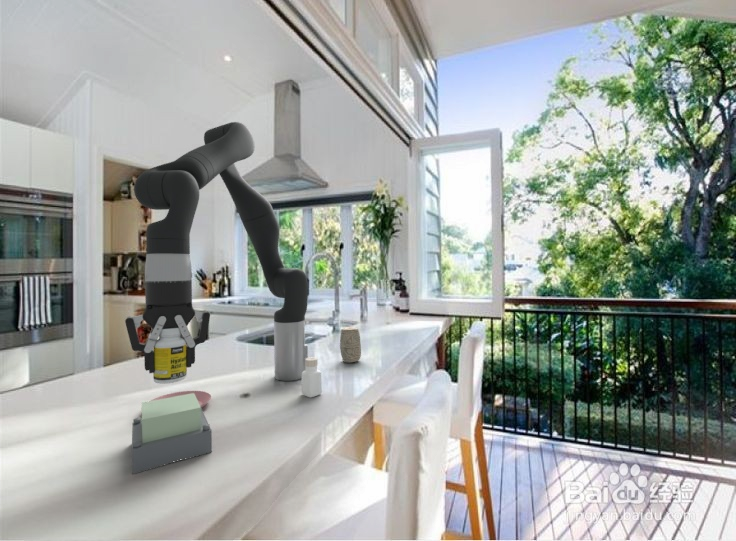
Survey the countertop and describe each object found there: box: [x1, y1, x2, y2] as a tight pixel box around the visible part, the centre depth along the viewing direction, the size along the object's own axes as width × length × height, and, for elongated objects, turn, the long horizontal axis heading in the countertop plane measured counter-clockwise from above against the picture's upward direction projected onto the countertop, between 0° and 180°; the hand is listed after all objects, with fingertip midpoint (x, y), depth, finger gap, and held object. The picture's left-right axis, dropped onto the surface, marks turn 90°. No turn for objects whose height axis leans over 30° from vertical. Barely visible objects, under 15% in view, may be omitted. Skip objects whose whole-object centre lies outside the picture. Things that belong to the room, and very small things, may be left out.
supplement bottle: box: [152, 328, 188, 384], centre depth 65 cm, size 5×5×10 cm
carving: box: [339, 326, 362, 364], centre depth 124 cm, size 6×8×12 cm
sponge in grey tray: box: [131, 393, 213, 475], centre depth 65 cm, size 12×12×8 cm
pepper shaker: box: [301, 356, 323, 399], centre depth 92 cm, size 4×4×10 cm
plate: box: [150, 390, 212, 410], centre depth 83 cm, size 14×14×2 cm
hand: (170, 368), depth 65 cm, fingers closed on supplement bottle, 5 cm apart
